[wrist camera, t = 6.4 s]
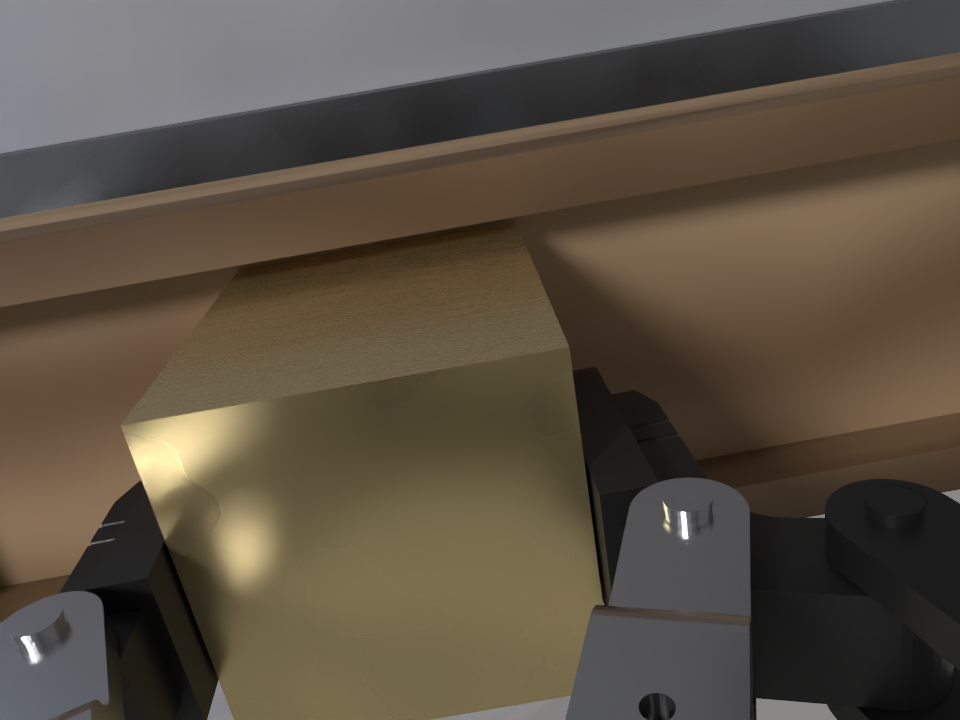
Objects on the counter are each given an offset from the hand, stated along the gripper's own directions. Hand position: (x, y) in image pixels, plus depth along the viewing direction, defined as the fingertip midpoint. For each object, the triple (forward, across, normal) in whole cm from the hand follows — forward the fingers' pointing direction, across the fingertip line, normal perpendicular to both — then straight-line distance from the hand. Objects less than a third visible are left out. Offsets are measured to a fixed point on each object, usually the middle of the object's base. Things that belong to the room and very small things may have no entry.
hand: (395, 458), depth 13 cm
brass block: (+3, 0, 0) cm, 3 cm away
